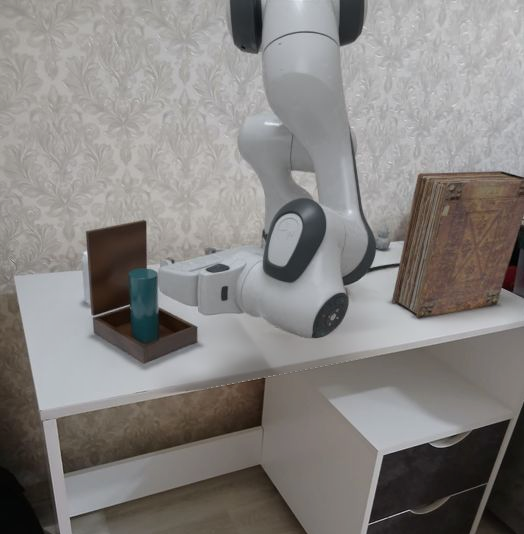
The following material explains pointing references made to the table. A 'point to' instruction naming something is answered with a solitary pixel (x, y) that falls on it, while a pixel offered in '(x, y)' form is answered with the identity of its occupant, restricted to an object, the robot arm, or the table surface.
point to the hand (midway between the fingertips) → (186, 257)
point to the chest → (170, 339)
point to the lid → (114, 263)
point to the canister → (144, 305)
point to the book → (459, 241)
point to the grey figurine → (382, 238)
